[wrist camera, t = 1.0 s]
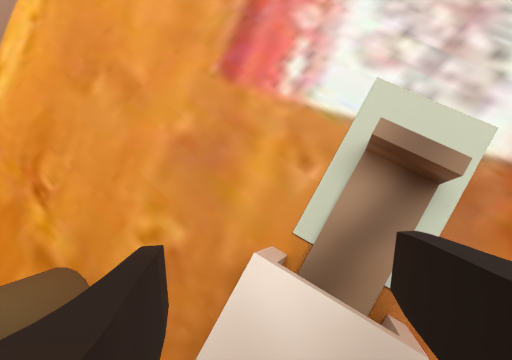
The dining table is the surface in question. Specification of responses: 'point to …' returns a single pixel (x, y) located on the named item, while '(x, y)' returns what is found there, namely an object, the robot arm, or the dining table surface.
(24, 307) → the olive brown pawn
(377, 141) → the brown t-shaped bar
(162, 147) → the dining table surface
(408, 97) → the mat
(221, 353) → the tunnel
